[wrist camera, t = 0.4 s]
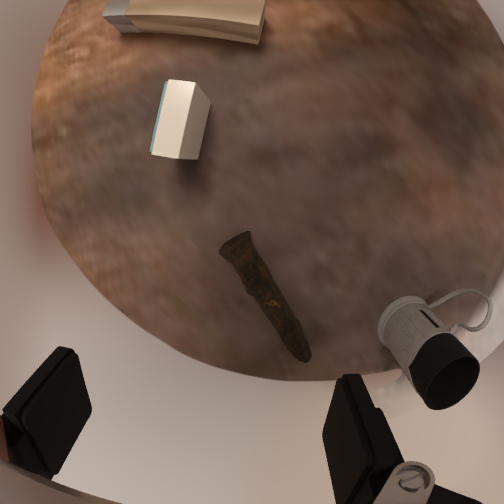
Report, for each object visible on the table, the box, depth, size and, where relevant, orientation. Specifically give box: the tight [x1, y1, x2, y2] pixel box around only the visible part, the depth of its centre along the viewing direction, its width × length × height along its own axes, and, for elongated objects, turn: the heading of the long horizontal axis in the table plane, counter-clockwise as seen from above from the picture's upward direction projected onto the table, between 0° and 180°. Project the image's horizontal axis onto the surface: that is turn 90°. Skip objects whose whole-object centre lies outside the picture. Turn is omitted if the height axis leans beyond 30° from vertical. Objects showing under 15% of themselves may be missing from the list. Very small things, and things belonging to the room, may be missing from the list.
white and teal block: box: [150, 79, 211, 160], centre depth 31 cm, size 7×3×10 cm, turn 168°
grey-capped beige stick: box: [102, 0, 266, 45], centre depth 29 cm, size 4×18×6 cm, turn 78°
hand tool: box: [219, 231, 312, 363], centre depth 39 cm, size 19×4×5 cm, turn 29°
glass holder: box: [377, 288, 493, 410], centre depth 34 cm, size 9×14×15 cm, turn 154°
